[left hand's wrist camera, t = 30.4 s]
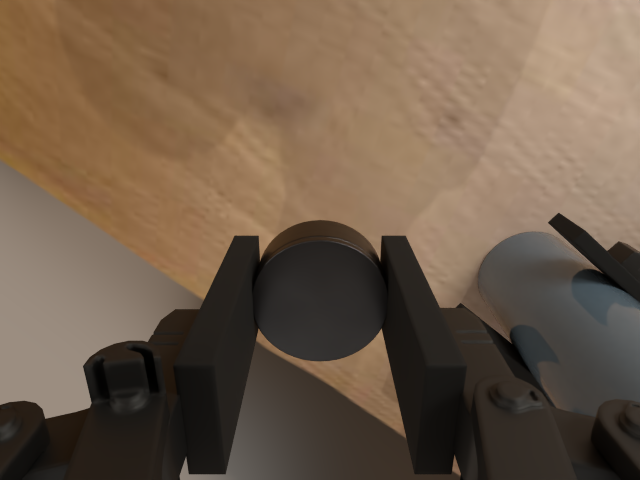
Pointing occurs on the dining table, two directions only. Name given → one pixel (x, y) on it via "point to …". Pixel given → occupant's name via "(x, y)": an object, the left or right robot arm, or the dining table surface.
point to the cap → (320, 291)
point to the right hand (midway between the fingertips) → (512, 275)
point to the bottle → (564, 321)
